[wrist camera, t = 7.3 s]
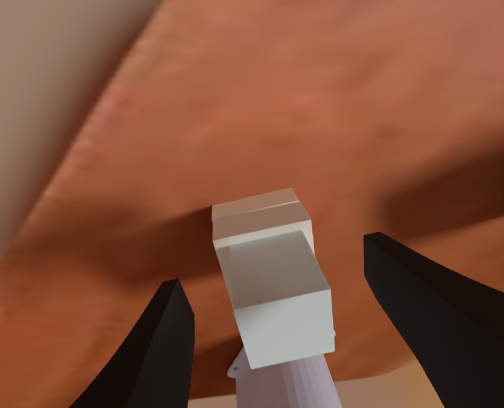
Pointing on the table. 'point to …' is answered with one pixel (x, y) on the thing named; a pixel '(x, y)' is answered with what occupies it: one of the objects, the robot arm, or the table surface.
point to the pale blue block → (280, 300)
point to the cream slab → (254, 203)
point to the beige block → (257, 230)
